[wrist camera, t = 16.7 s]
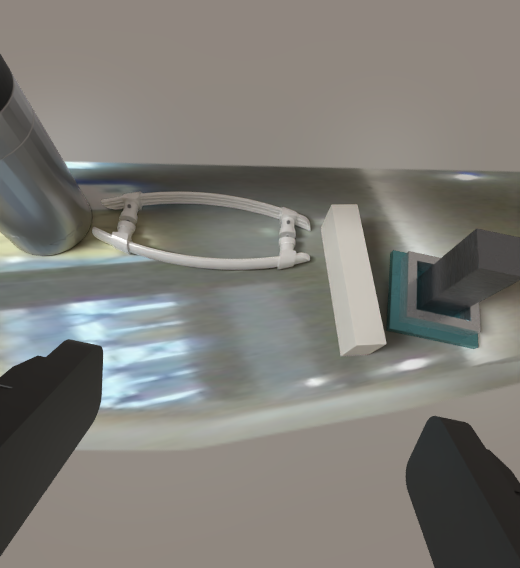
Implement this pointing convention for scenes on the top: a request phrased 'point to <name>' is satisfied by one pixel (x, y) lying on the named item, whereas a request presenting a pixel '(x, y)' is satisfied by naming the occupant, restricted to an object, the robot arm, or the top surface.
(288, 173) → the top surface
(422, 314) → the keeper
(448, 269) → the block
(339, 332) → the door edge
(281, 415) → the top surface
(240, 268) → the door handle
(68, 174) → the robot arm
